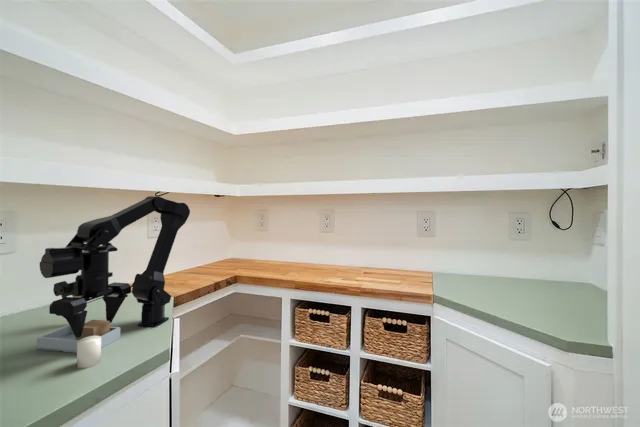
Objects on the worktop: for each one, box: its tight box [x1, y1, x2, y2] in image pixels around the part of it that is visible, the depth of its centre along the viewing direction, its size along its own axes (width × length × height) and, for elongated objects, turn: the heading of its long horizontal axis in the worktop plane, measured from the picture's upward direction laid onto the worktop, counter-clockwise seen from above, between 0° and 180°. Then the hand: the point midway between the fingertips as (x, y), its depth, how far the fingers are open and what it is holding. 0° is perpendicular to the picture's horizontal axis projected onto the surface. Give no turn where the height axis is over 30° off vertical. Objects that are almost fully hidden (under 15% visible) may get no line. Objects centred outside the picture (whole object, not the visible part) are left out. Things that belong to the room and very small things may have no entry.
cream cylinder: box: [76, 336, 102, 369], centre depth 68 cm, size 4×4×6 cm
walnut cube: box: [75, 319, 111, 340], centre depth 76 cm, size 5×5×5 cm
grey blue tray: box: [36, 324, 121, 354], centre depth 77 cm, size 9×15×3 cm, turn 84°
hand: (94, 329), depth 77 cm, fingers open, 9 cm apart
